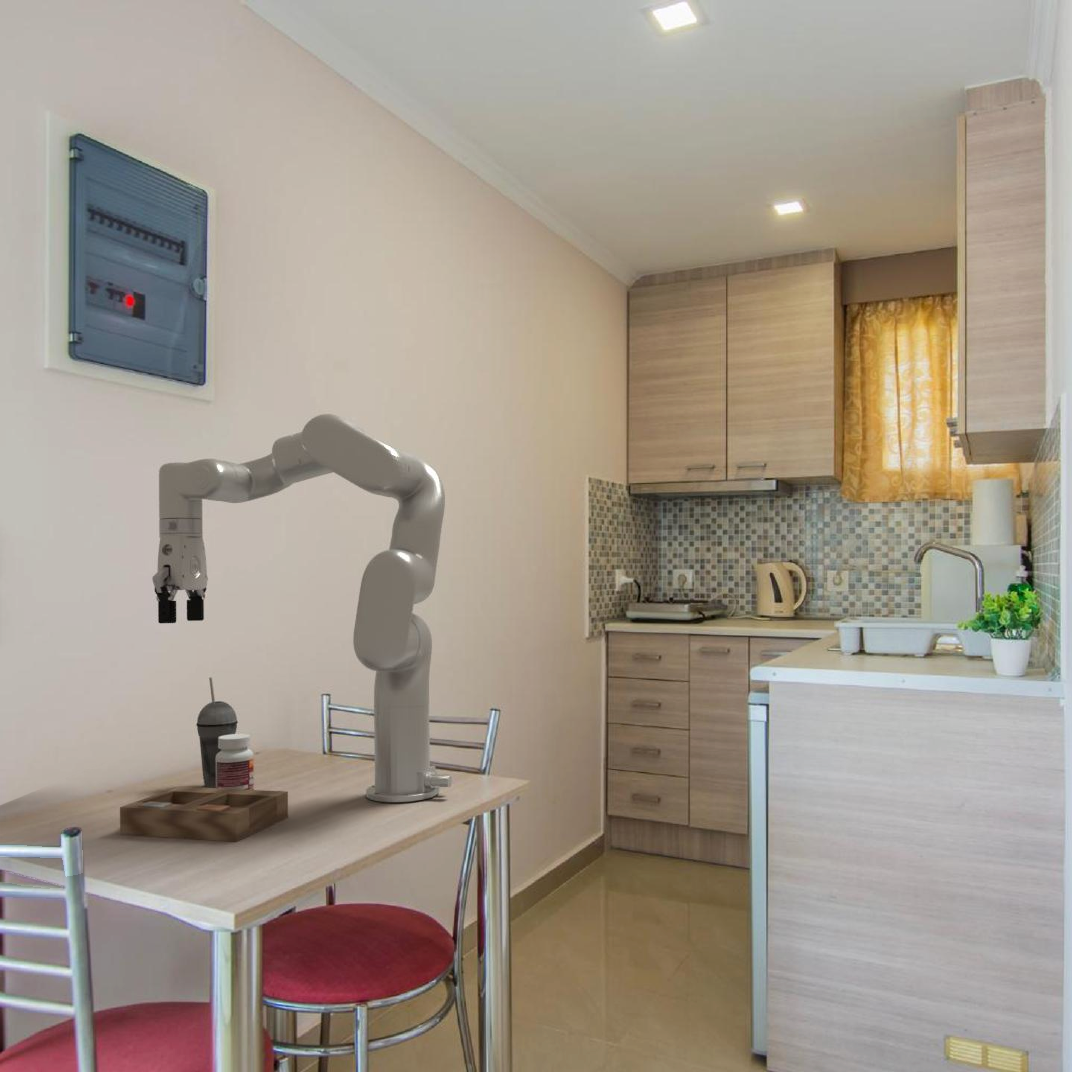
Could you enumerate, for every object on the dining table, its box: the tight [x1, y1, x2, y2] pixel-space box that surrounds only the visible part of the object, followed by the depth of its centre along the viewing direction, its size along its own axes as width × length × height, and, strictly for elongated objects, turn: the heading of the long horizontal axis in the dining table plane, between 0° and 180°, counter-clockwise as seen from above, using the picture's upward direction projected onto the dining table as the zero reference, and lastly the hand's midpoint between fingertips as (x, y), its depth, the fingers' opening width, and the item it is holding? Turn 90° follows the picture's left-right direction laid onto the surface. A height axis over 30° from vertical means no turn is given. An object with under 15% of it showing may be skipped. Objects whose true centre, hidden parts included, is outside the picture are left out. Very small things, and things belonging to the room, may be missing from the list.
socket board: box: [119, 786, 289, 843], centre depth 143 cm, size 20×14×4 cm
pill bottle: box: [215, 733, 255, 790], centre depth 157 cm, size 6×6×11 cm
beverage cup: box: [195, 677, 239, 788], centre depth 171 cm, size 7×7×20 cm
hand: (181, 621), depth 171 cm, fingers open, 9 cm apart
